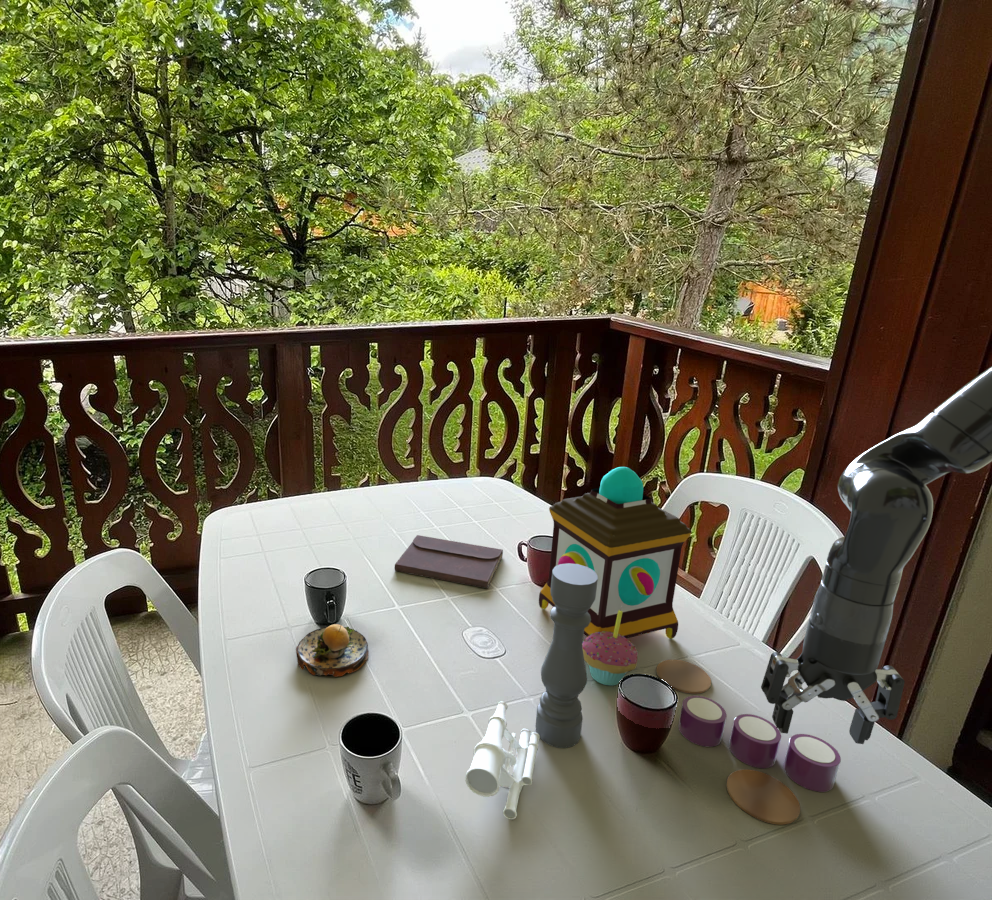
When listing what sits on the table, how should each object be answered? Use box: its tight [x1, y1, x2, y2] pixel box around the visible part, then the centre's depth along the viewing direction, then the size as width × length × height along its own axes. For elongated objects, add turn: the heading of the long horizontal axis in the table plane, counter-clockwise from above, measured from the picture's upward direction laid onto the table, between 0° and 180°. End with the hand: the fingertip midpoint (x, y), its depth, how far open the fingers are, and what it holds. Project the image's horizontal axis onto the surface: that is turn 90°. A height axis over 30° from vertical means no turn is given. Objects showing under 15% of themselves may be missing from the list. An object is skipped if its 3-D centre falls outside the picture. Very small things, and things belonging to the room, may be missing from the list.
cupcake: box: [582, 606, 639, 686], centre depth 99 cm, size 9×8×12 cm
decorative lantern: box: [538, 466, 692, 639], centre depth 111 cm, size 20×20×30 cm
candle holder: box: [534, 563, 598, 749], centre depth 86 cm, size 6×6×25 cm
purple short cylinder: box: [782, 733, 842, 793], centre depth 82 cm, size 6×6×4 cm
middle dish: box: [728, 713, 782, 769], centre depth 85 cm, size 6×6×4 cm
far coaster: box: [655, 658, 712, 695], centre depth 101 cm, size 8×8×1 cm
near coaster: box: [726, 768, 801, 826], centre depth 79 cm, size 8×8×1 cm
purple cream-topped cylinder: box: [677, 695, 728, 748], centre depth 89 cm, size 6×6×4 cm
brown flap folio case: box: [394, 534, 504, 590], centre depth 136 cm, size 15×20×2 cm
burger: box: [295, 623, 370, 678], centre depth 105 cm, size 12×12×8 cm
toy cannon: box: [464, 701, 541, 820], centre depth 82 cm, size 8×14×5 cm
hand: (817, 733), depth 80 cm, fingers open, 8 cm apart
